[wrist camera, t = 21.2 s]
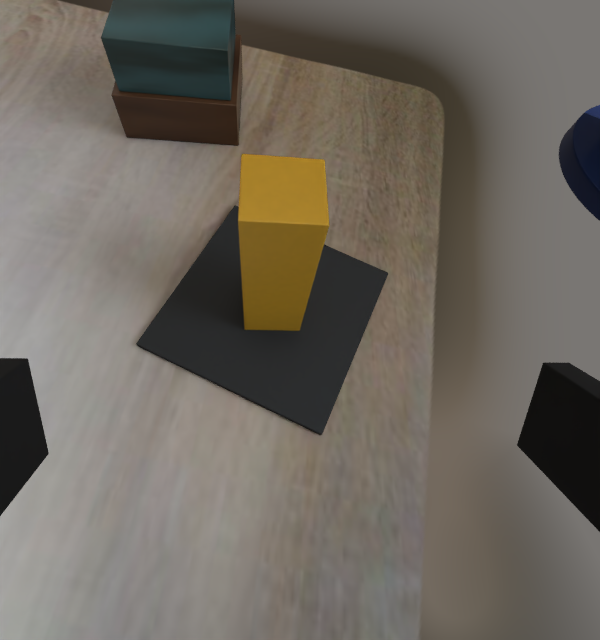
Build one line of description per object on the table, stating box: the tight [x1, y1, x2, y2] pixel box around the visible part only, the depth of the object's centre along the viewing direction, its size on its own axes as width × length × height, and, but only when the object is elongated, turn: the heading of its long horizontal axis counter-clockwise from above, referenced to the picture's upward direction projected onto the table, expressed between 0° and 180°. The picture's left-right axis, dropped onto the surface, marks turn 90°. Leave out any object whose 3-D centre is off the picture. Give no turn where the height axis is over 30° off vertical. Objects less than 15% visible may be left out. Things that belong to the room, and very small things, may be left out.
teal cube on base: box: [101, 0, 242, 145], centre depth 33 cm, size 10×10×8 cm
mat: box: [136, 206, 388, 435], centre depth 28 cm, size 14×14×1 cm
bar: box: [238, 154, 329, 331], centre depth 22 cm, size 4×4×12 cm
